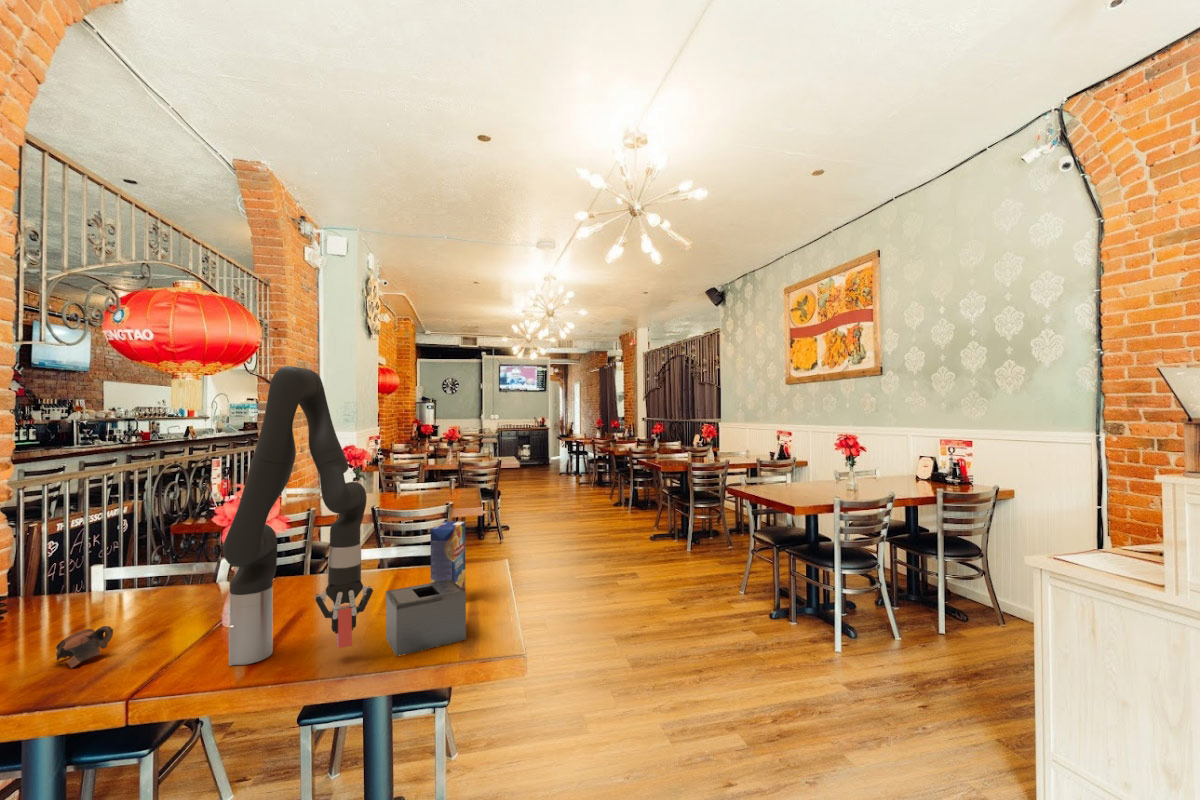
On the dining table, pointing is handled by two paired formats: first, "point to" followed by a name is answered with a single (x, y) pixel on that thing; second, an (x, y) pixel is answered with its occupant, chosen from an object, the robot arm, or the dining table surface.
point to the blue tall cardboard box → (448, 553)
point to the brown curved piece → (83, 645)
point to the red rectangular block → (344, 627)
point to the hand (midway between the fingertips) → (343, 630)
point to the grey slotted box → (425, 616)
